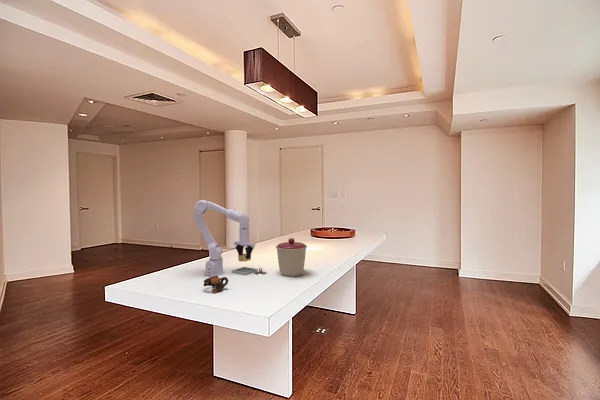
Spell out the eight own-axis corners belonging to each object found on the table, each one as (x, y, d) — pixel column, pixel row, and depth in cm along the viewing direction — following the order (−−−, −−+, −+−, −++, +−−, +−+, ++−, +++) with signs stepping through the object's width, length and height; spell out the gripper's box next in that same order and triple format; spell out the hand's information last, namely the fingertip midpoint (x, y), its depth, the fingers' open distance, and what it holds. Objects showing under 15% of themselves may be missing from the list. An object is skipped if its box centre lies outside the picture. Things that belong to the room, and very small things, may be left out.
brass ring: (243, 261, 187) (243, 256, 186) (236, 260, 189) (236, 255, 189) (251, 259, 192) (250, 254, 192) (244, 258, 195) (244, 253, 195)
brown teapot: (207, 296, 153) (201, 279, 155) (207, 298, 161) (202, 283, 164) (231, 286, 157) (226, 270, 160) (230, 289, 166) (225, 274, 168)
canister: (308, 270, 196) (308, 235, 195) (306, 279, 178) (305, 240, 177) (278, 270, 197) (278, 235, 196) (273, 278, 179) (272, 240, 179)
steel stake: (261, 276, 184) (261, 270, 184) (251, 274, 188) (251, 268, 188) (269, 273, 190) (269, 267, 190) (259, 271, 194) (259, 266, 194)
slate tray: (245, 276, 184) (245, 273, 184) (231, 273, 190) (231, 270, 190) (257, 272, 193) (257, 269, 193) (244, 269, 199) (244, 266, 199)
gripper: (258, 235, 190) (258, 258, 191) (239, 233, 198) (240, 255, 198) (250, 236, 184) (250, 260, 185) (231, 235, 192) (231, 257, 192)
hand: (244, 258), depth 191 cm, fingers closed on brass ring, 5 cm apart
